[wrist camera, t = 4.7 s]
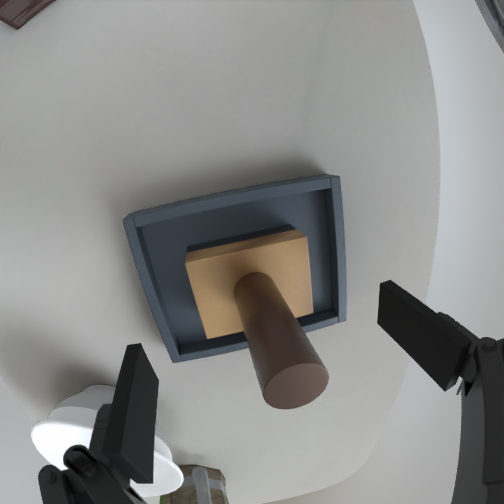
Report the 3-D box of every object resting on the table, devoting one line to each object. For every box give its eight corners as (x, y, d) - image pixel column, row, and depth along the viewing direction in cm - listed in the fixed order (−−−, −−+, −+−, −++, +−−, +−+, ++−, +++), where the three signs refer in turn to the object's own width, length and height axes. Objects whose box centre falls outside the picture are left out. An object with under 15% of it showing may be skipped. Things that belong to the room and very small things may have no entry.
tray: (327, 174, 21) (339, 175, 19) (336, 309, 25) (346, 320, 23) (129, 213, 19) (122, 219, 17) (174, 348, 24) (172, 363, 22)
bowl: (107, 449, 28) (101, 496, 20) (30, 373, 22) (4, 424, 14) (205, 432, 28) (211, 490, 20) (130, 342, 23) (112, 413, 15)
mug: (219, 489, 35) (229, 542, 24) (159, 485, 33) (160, 540, 21) (238, 451, 31) (254, 523, 20) (159, 446, 28) (160, 522, 17)
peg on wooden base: (290, 224, 21) (389, 300, 10) (298, 292, 23) (374, 398, 12) (186, 246, 20) (175, 357, 9) (205, 314, 22) (218, 444, 11)
